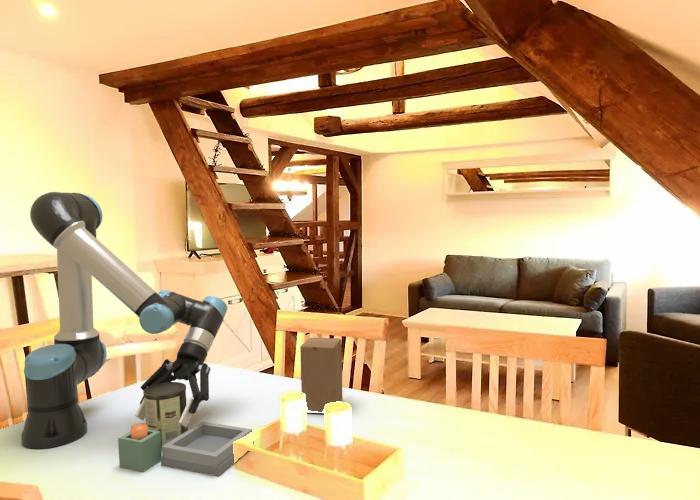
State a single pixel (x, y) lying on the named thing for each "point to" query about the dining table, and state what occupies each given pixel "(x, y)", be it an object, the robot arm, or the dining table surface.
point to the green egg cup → (140, 451)
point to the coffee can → (165, 409)
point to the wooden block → (321, 372)
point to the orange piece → (139, 431)
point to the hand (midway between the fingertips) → (160, 421)
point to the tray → (203, 448)
